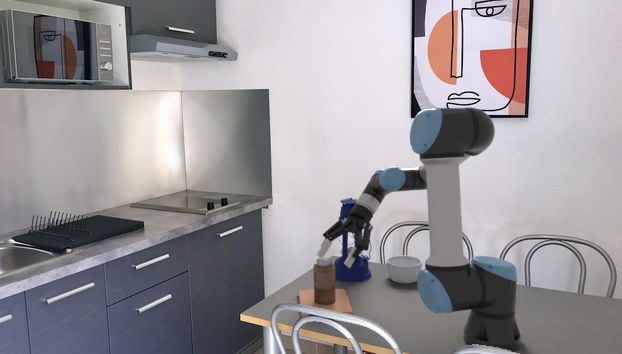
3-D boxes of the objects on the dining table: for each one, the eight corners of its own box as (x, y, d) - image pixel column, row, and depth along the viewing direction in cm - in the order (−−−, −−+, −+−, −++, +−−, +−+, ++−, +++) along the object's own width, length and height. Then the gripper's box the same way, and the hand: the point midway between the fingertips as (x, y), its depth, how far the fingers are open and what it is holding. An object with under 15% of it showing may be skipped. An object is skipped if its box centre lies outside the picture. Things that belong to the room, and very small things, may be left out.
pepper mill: (336, 304, 171) (336, 262, 169) (315, 305, 171) (314, 263, 169) (334, 296, 178) (333, 256, 176) (313, 297, 178) (312, 256, 175)
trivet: (352, 316, 165) (352, 311, 165) (301, 318, 164) (301, 314, 164) (344, 292, 185) (344, 288, 185) (298, 294, 184) (298, 290, 184)
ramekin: (424, 285, 192) (424, 266, 190) (387, 284, 192) (387, 266, 191) (419, 272, 205) (419, 255, 204) (385, 272, 205) (385, 255, 204)
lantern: (340, 266, 214) (339, 192, 209) (376, 270, 208) (376, 195, 203) (324, 280, 198) (323, 201, 194) (363, 284, 192) (363, 203, 188)
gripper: (397, 221, 175) (365, 276, 168) (345, 210, 194) (314, 258, 187) (386, 208, 171) (353, 263, 164) (334, 198, 190) (302, 247, 183)
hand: (332, 261), depth 176 cm, fingers open, 13 cm apart
